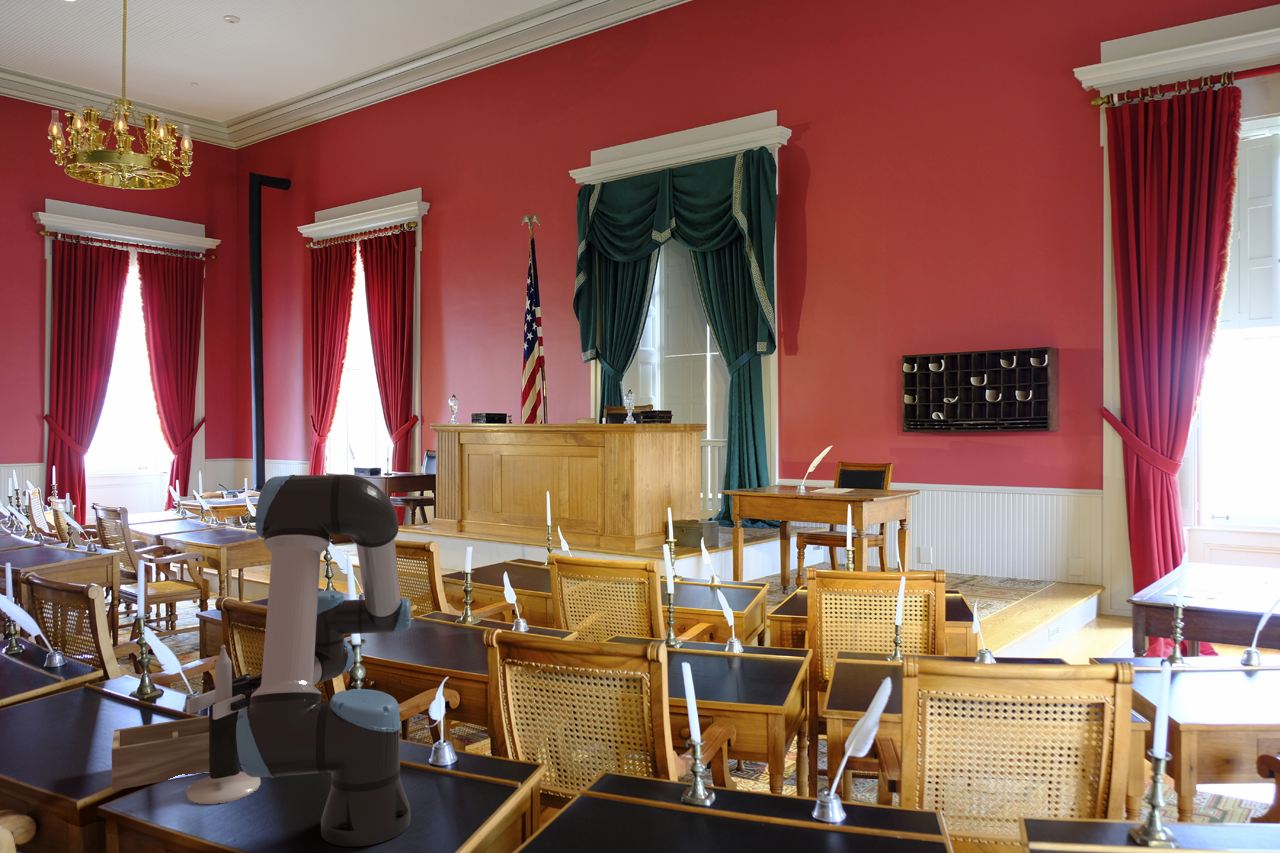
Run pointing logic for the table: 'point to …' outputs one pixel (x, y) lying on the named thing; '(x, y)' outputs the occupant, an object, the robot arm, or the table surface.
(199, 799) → the plate
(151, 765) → the candle box
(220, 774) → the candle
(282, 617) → the robot arm
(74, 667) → the table surface
